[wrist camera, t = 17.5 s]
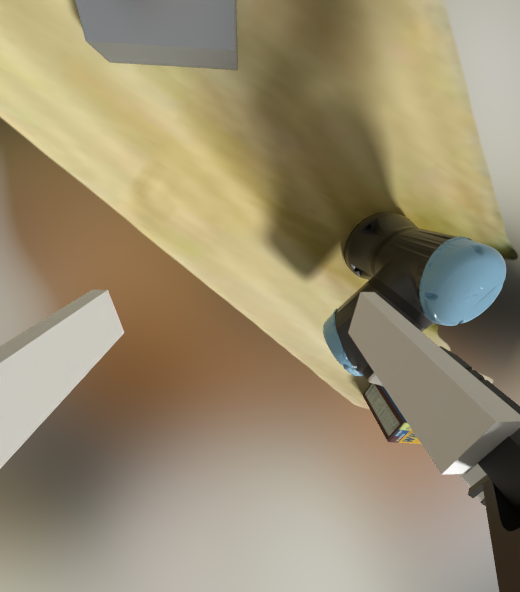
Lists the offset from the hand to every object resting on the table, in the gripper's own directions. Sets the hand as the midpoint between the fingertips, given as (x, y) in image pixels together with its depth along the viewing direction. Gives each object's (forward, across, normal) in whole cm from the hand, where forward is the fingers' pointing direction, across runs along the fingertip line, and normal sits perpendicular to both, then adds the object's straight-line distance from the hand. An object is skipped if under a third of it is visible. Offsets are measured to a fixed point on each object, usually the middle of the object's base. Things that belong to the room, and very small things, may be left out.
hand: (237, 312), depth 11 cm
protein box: (+37, +51, -57) cm, 85 cm away
